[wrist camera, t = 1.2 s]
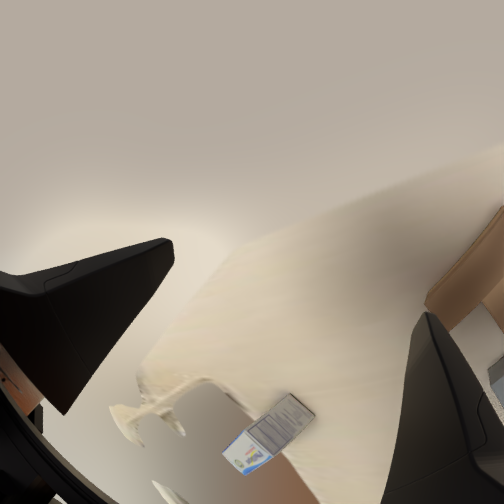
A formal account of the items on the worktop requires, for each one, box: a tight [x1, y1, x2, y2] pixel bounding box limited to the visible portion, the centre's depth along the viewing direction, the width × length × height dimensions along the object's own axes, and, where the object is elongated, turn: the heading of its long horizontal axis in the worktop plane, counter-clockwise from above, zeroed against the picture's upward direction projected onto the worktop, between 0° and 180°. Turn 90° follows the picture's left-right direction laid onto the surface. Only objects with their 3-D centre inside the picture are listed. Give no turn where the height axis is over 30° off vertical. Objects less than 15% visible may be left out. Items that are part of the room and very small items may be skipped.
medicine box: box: [222, 394, 315, 475], centre depth 27 cm, size 8×4×9 cm, turn 151°
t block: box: [424, 206, 504, 333], centre depth 14 cm, size 8×10×4 cm
